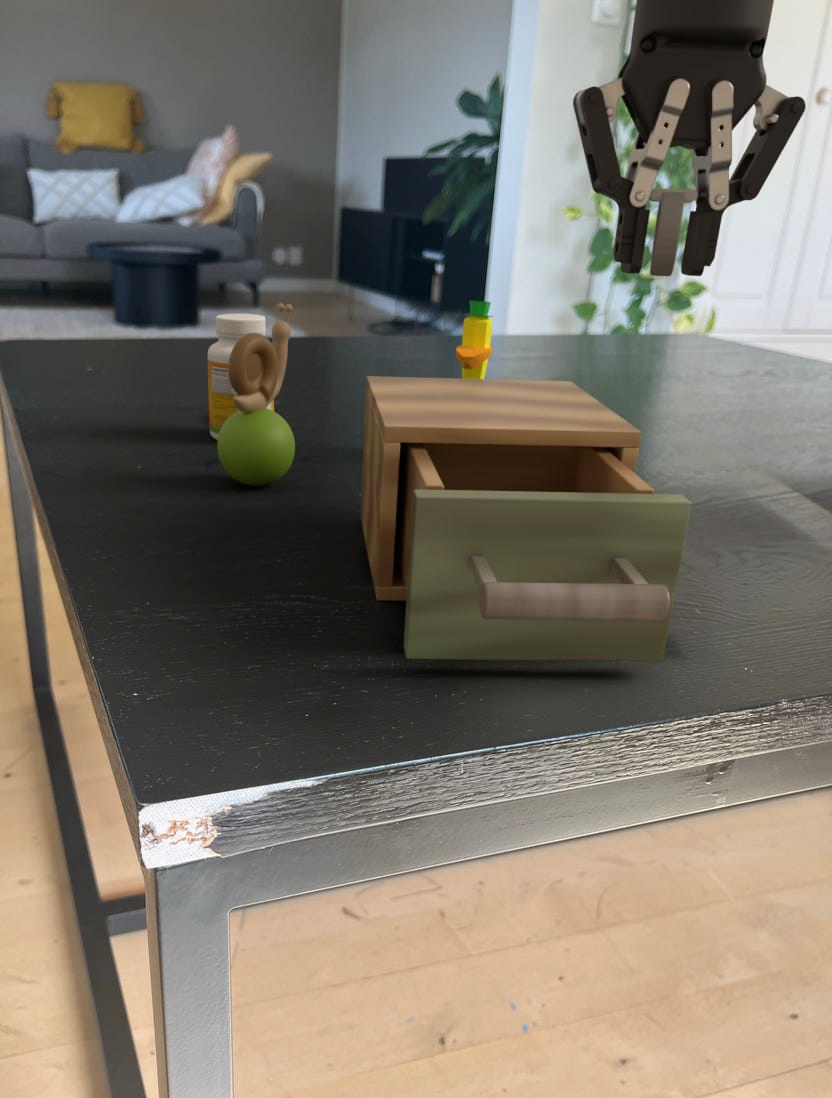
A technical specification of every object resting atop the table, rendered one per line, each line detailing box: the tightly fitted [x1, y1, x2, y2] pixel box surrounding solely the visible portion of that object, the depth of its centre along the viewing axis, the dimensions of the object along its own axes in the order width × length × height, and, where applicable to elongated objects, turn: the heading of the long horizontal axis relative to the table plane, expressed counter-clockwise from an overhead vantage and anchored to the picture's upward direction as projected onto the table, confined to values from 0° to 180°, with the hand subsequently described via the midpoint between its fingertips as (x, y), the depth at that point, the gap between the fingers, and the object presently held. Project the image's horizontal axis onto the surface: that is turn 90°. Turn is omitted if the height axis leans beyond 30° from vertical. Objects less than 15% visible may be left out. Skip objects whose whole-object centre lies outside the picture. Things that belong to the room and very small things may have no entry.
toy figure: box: [455, 300, 494, 379], centre depth 76 cm, size 7×4×12 cm, turn 165°
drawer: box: [396, 443, 692, 662], centre depth 45 cm, size 17×11×7 cm, turn 3°
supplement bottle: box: [207, 313, 275, 441], centre depth 81 cm, size 5×5×10 cm
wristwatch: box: [649, 187, 698, 277], centre depth 62 cm, size 6×3×5 cm, turn 166°
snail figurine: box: [216, 302, 296, 487], centre depth 68 cm, size 5×6×12 cm
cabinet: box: [360, 375, 642, 602], centre depth 56 cm, size 14×13×9 cm
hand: (661, 272), depth 62 cm, fingers closed on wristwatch, 3 cm apart
